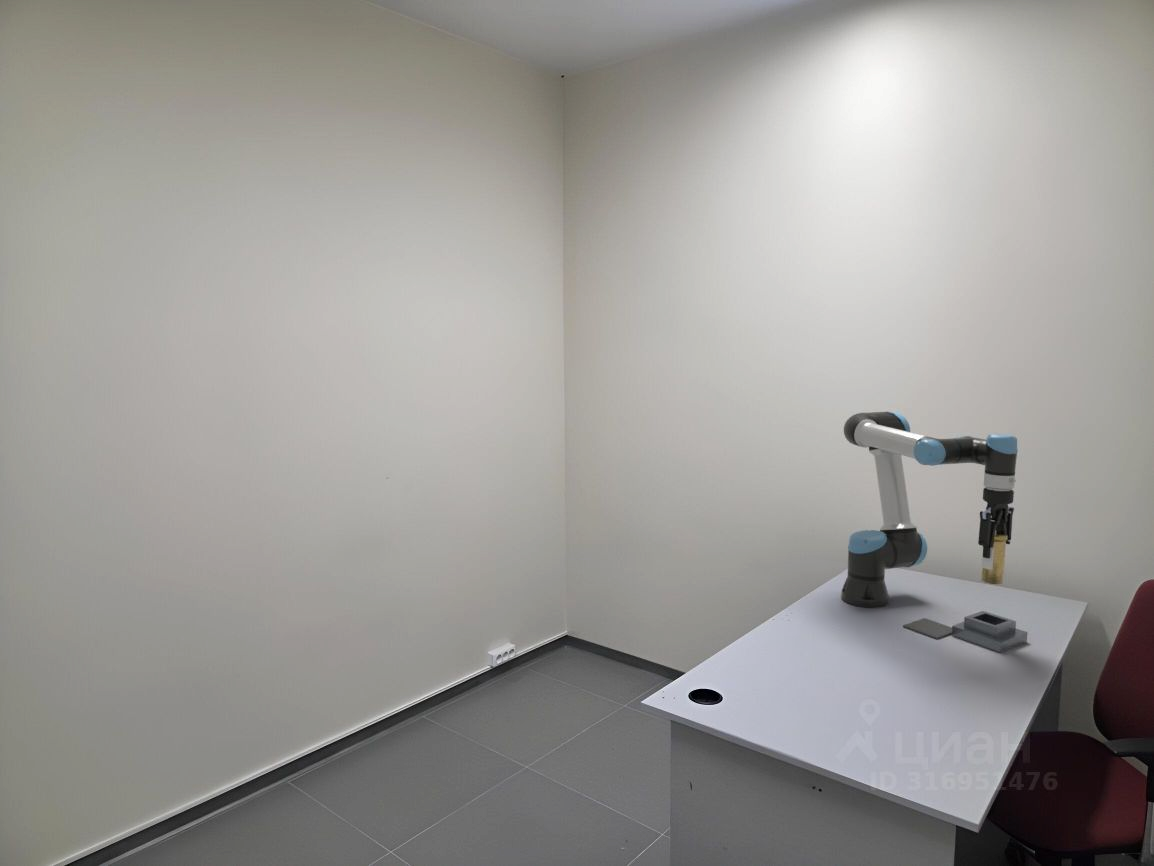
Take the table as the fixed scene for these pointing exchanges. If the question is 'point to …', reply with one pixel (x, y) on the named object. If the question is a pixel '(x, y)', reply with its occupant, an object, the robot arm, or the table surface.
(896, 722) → the table surface
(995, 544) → the brass flared knob
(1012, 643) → the housing
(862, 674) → the table surface
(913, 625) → the mat
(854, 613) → the table surface
